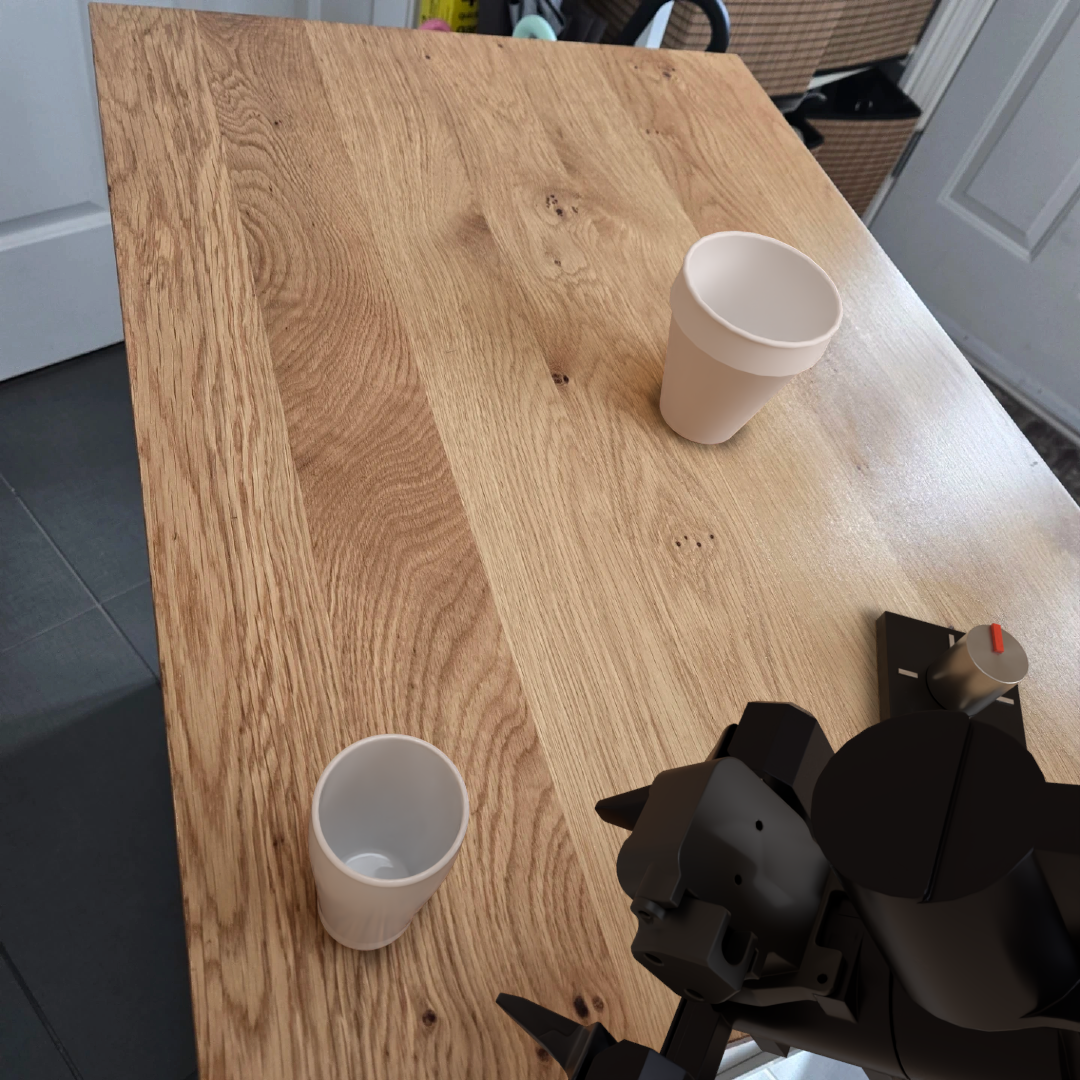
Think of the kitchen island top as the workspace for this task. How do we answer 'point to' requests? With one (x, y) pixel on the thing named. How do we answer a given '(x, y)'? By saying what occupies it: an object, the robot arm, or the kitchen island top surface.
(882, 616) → the hob panel
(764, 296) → the cup
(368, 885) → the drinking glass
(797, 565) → the kitchen island top surface
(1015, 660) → the hob knob
